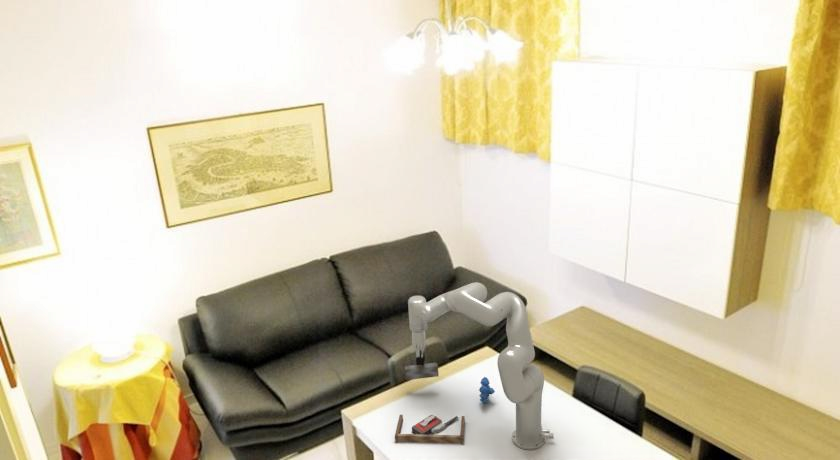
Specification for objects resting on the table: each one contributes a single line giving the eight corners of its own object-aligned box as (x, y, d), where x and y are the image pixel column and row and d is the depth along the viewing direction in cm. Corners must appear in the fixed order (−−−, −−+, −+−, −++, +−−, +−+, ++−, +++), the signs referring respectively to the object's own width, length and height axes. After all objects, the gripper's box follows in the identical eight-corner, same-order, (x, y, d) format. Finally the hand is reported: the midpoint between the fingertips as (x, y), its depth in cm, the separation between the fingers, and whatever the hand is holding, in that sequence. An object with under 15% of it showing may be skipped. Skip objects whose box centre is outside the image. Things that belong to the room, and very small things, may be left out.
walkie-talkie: (423, 444, 237) (459, 420, 249) (423, 434, 235) (459, 411, 248) (408, 434, 243) (444, 411, 255) (407, 424, 241) (444, 402, 254)
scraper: (437, 372, 267) (435, 346, 263) (438, 376, 264) (436, 349, 260) (405, 376, 266) (403, 349, 262) (406, 380, 263) (403, 353, 259)
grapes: (493, 411, 253) (493, 386, 249) (477, 410, 254) (476, 385, 250) (496, 395, 263) (496, 371, 259) (481, 394, 265) (480, 370, 261)
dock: (464, 422, 247) (464, 416, 246) (463, 444, 235) (463, 438, 234) (400, 420, 251) (399, 414, 250) (395, 442, 238) (394, 436, 237)
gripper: (411, 315, 265) (414, 352, 271) (406, 334, 250) (409, 373, 256) (429, 315, 264) (431, 353, 270) (425, 334, 249) (427, 373, 255)
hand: (420, 362), depth 263 cm, fingers closed on scraper, 2 cm apart
